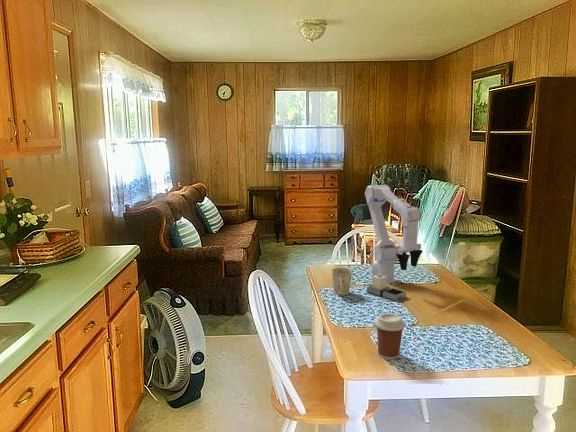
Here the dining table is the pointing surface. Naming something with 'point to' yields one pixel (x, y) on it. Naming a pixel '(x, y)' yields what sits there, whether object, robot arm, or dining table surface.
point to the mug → (341, 280)
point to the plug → (379, 282)
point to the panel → (387, 293)
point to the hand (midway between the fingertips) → (408, 268)
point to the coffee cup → (389, 335)
